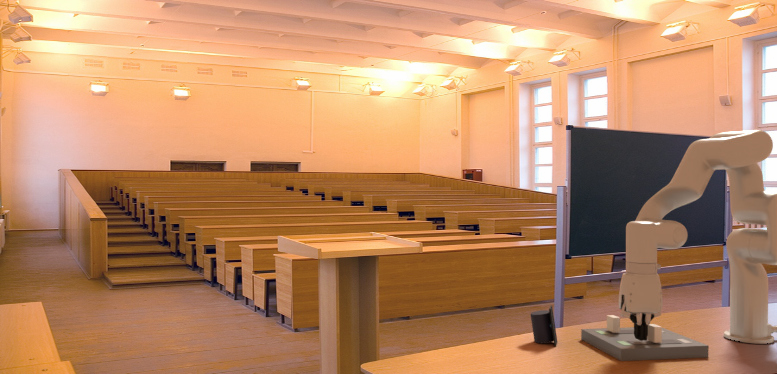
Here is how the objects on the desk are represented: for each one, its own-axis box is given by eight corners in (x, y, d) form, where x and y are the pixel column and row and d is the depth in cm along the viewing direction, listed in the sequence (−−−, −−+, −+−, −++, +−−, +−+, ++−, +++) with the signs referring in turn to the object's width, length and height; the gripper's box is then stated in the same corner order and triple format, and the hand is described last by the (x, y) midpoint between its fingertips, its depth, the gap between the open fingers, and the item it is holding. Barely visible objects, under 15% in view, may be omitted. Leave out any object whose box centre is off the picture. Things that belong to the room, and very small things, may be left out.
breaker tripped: (653, 339, 169) (653, 323, 169) (661, 342, 165) (661, 326, 165) (646, 339, 168) (646, 324, 168) (654, 342, 165) (654, 327, 165)
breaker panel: (659, 336, 186) (659, 326, 185) (708, 357, 164) (708, 345, 164) (581, 339, 182) (581, 328, 182) (621, 360, 160) (621, 348, 160)
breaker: (613, 329, 180) (613, 315, 180) (619, 332, 176) (619, 317, 176) (606, 329, 180) (606, 315, 180) (613, 332, 176) (613, 318, 176)
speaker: (564, 341, 178) (560, 304, 178) (555, 347, 174) (551, 308, 174) (539, 340, 183) (535, 304, 183) (530, 345, 178) (526, 308, 179)
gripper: (659, 266, 171) (659, 334, 171) (607, 267, 169) (606, 336, 169) (676, 270, 164) (675, 341, 164) (621, 271, 161) (621, 344, 161)
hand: (640, 339), depth 166 cm, fingers closed
